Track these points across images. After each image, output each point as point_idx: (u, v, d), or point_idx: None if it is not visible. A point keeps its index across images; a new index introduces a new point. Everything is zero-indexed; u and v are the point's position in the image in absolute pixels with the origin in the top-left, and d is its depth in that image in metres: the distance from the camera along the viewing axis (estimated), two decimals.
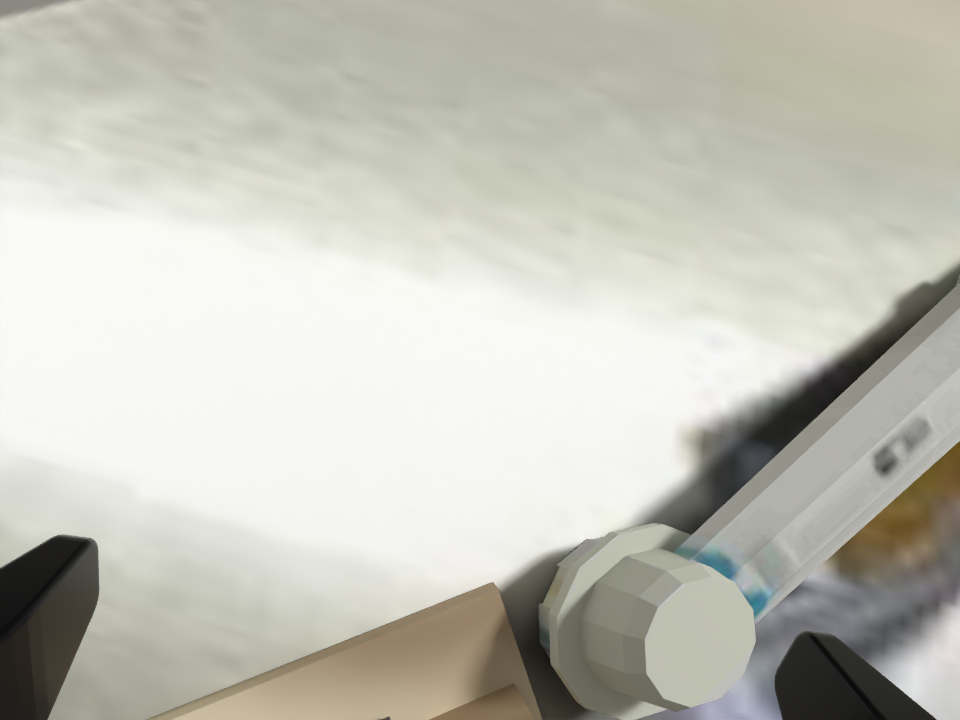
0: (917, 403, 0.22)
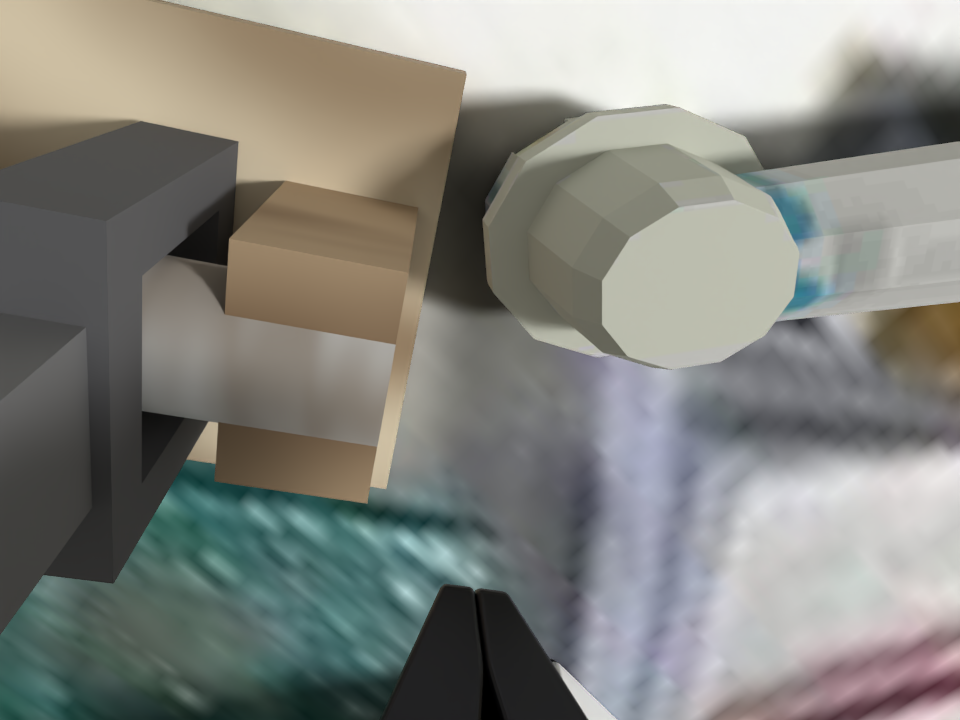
0: None
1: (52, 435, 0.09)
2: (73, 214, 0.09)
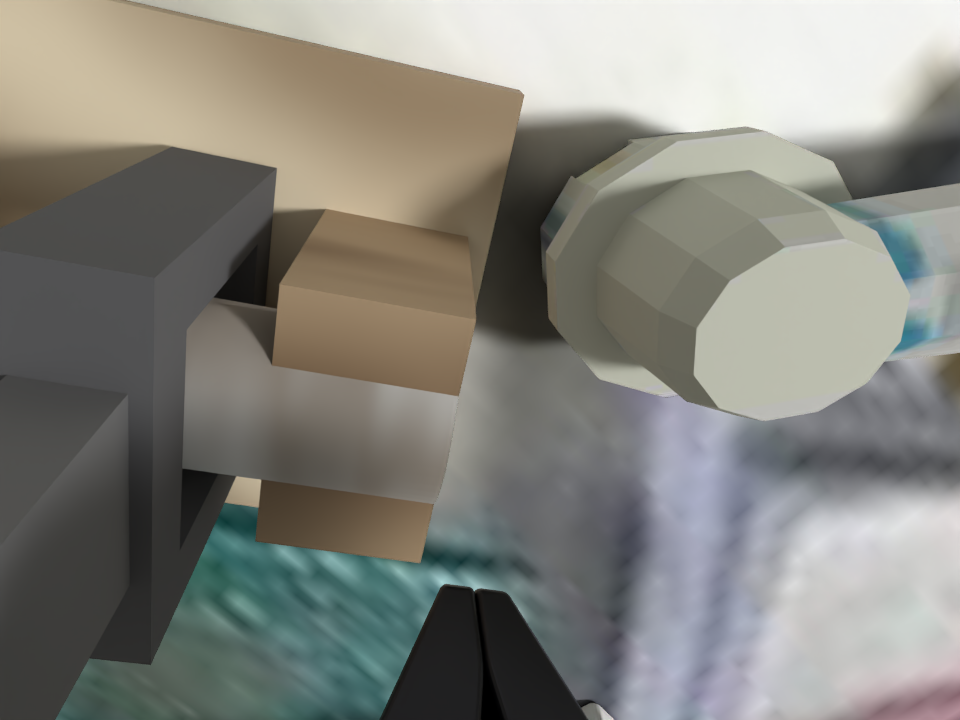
0: None
1: (92, 521, 0.08)
2: (117, 270, 0.08)
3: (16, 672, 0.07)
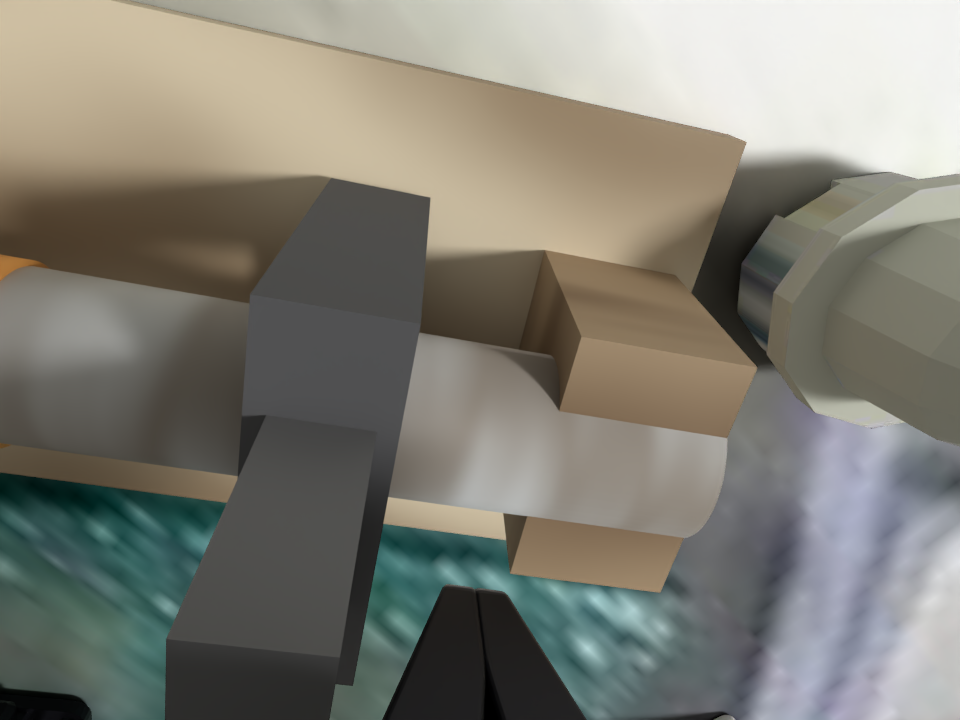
0: None
1: None
2: (384, 316, 0.08)
3: None
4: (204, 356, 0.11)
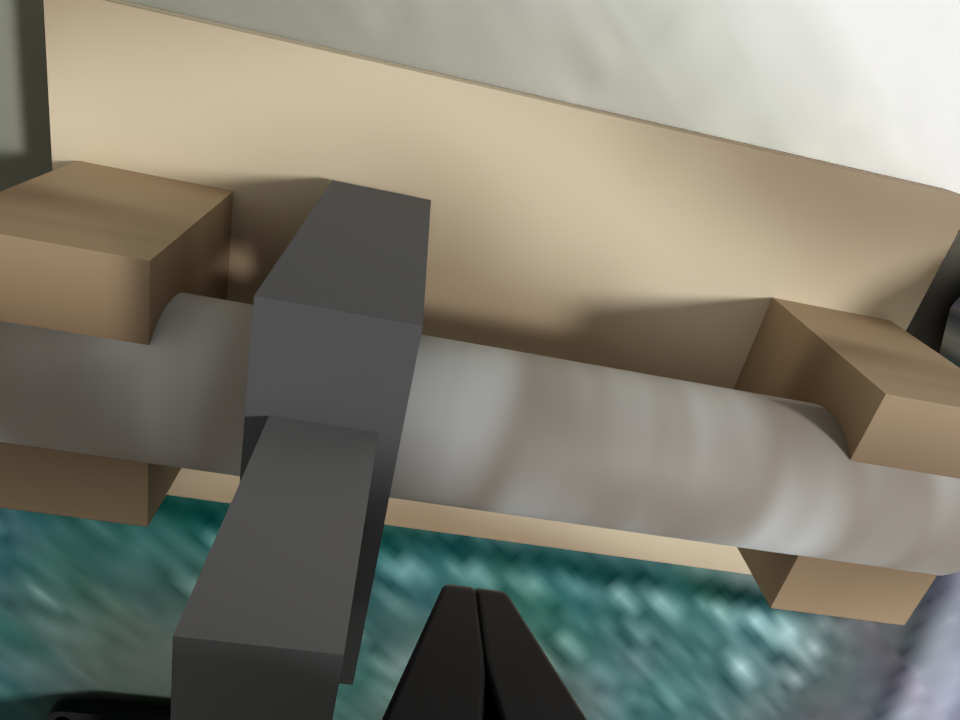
0: None
1: None
2: (387, 318, 0.08)
3: None
4: (541, 411, 0.12)
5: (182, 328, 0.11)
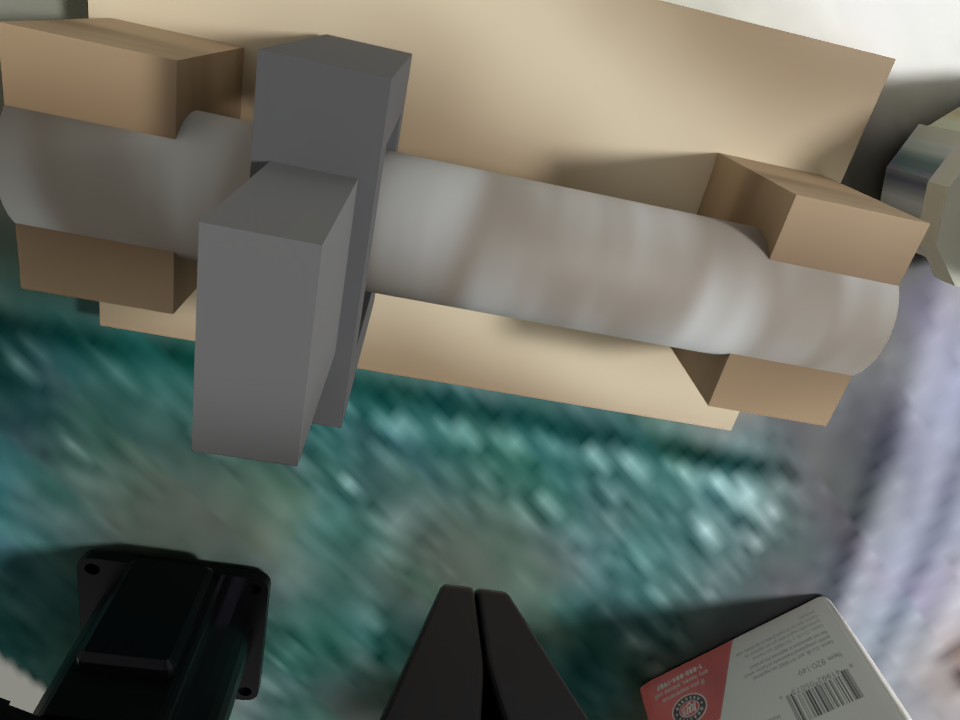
0: None
1: (340, 266, 0.11)
2: (363, 73, 0.10)
3: (318, 341, 0.09)
4: (503, 207, 0.14)
5: (203, 129, 0.13)
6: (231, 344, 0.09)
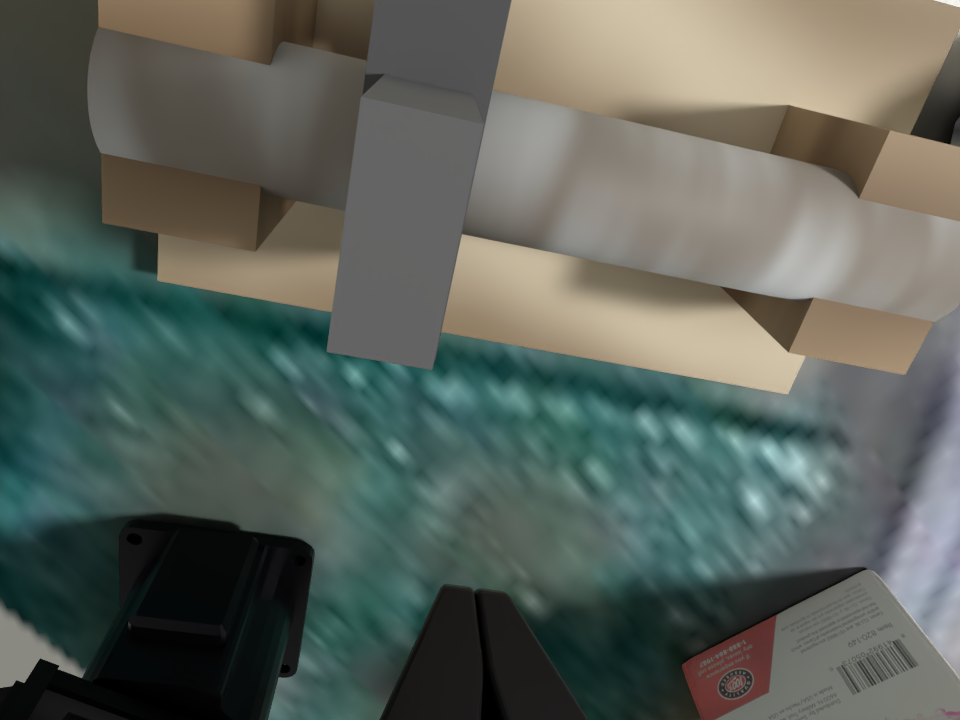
0: None
1: None
2: None
3: None
4: (596, 140, 0.14)
5: (296, 57, 0.13)
6: (379, 233, 0.08)
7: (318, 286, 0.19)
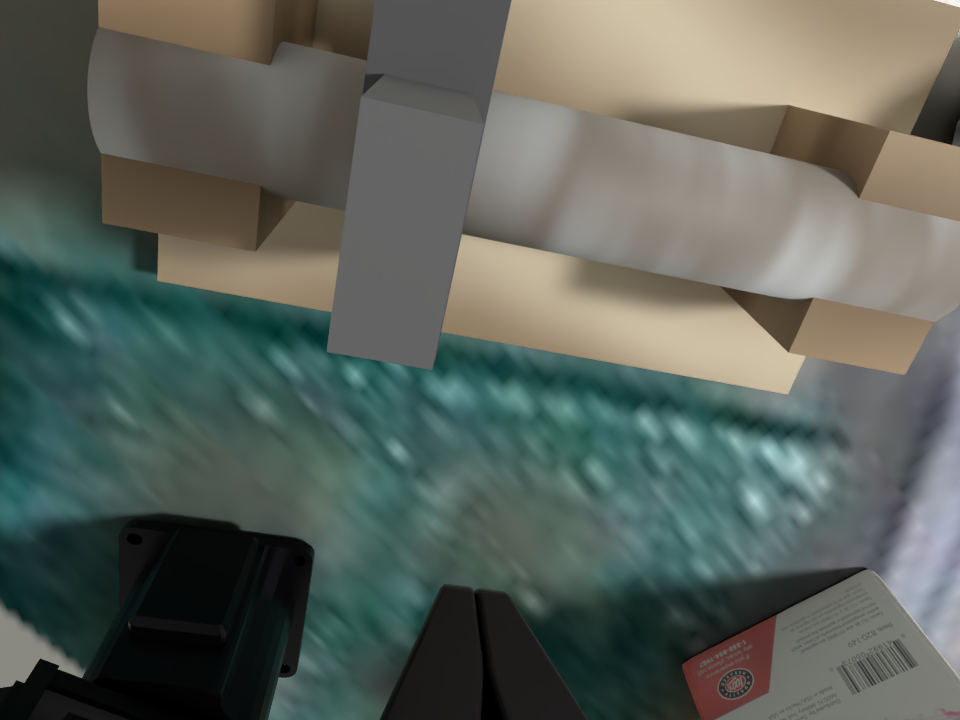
0: None
1: None
2: None
3: None
4: (596, 140, 0.14)
5: (296, 57, 0.13)
6: (379, 233, 0.08)
7: (318, 286, 0.19)
